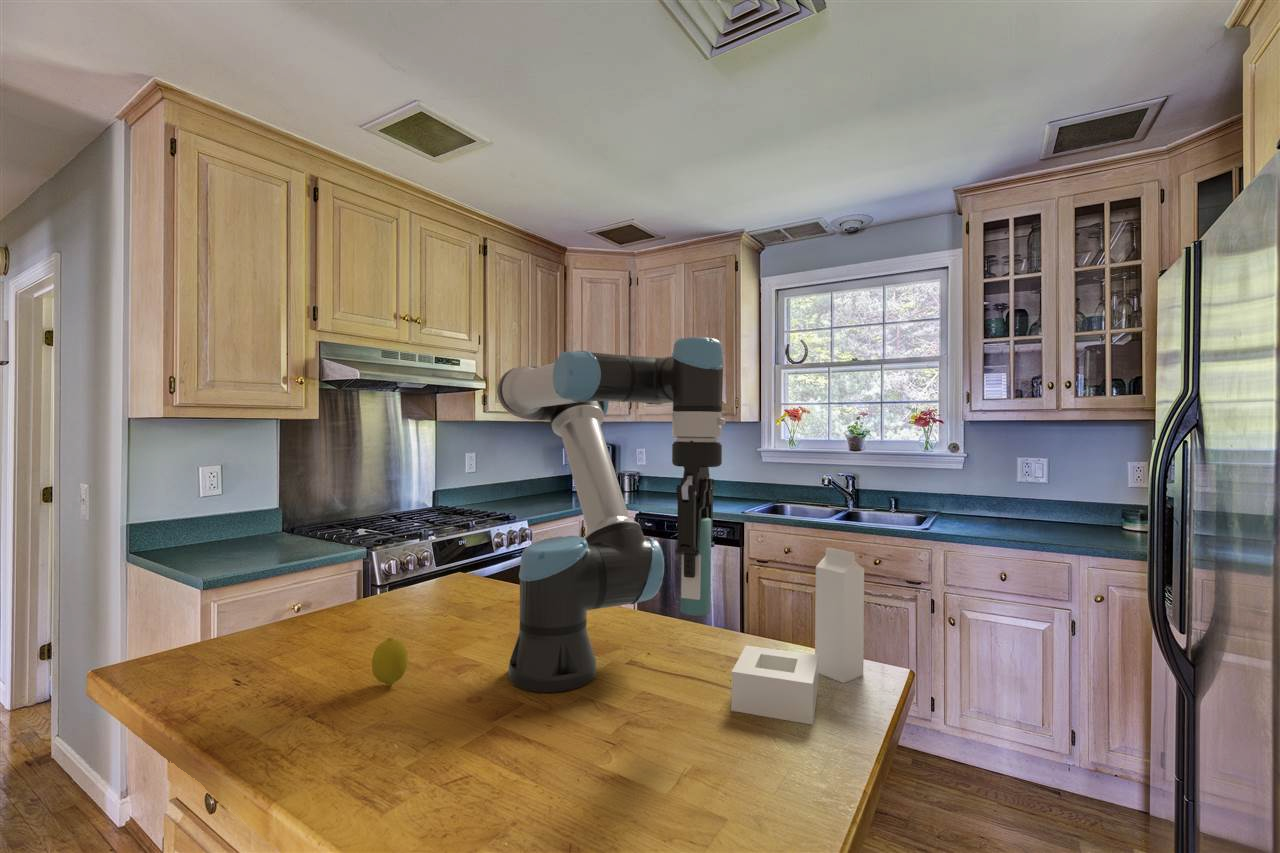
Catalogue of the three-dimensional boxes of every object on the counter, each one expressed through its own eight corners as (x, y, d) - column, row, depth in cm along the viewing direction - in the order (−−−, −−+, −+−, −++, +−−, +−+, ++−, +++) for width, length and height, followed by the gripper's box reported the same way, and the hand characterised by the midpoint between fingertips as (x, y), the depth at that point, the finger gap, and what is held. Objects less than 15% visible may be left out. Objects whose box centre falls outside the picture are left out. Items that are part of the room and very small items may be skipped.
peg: (676, 613, 90) (677, 520, 90) (685, 605, 94) (686, 516, 94) (706, 617, 89) (707, 522, 89) (713, 608, 93) (714, 518, 93)
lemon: (414, 682, 102) (415, 635, 102) (388, 695, 97) (389, 645, 97) (390, 676, 104) (391, 630, 104) (363, 689, 99) (364, 640, 99)
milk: (843, 684, 103) (844, 555, 103) (814, 672, 108) (814, 549, 108) (864, 675, 106) (865, 550, 106) (834, 664, 111) (835, 545, 111)
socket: (731, 710, 92) (731, 671, 92) (745, 680, 104) (745, 645, 104) (812, 724, 88) (812, 683, 88) (818, 691, 100) (818, 655, 100)
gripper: (707, 441, 82) (705, 613, 82) (733, 439, 98) (731, 582, 98) (655, 440, 85) (653, 606, 85) (688, 439, 101) (687, 578, 101)
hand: (695, 593), depth 92 cm, fingers closed on peg, 4 cm apart
